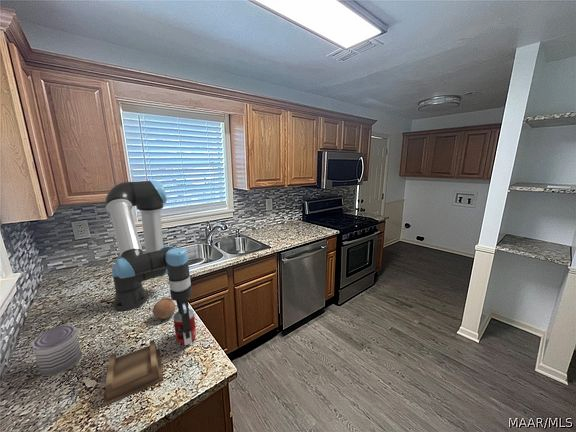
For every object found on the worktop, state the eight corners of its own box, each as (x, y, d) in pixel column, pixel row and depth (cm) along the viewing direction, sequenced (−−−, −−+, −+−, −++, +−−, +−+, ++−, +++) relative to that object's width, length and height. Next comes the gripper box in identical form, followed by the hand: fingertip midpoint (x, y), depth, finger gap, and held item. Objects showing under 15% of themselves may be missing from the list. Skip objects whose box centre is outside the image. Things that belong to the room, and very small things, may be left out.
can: (87, 347, 92) (81, 321, 90) (74, 370, 82) (66, 340, 80) (50, 356, 88) (42, 329, 86) (31, 381, 78) (22, 351, 75)
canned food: (190, 328, 101) (187, 306, 99) (200, 336, 97) (197, 313, 94) (172, 338, 96) (169, 315, 93) (182, 347, 91) (179, 323, 88)
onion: (169, 317, 115) (174, 296, 118) (175, 321, 108) (180, 298, 111) (148, 318, 109) (153, 296, 112) (153, 322, 102) (158, 298, 105)
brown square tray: (108, 368, 82) (105, 354, 81) (159, 349, 91) (157, 336, 89) (103, 406, 69) (99, 390, 68) (163, 380, 77) (161, 365, 76)
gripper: (167, 279, 98) (173, 326, 103) (173, 303, 81) (180, 358, 85) (186, 274, 102) (191, 320, 107) (196, 296, 85) (201, 349, 89)
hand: (186, 337), depth 96 cm, fingers closed on canned food, 8 cm apart
